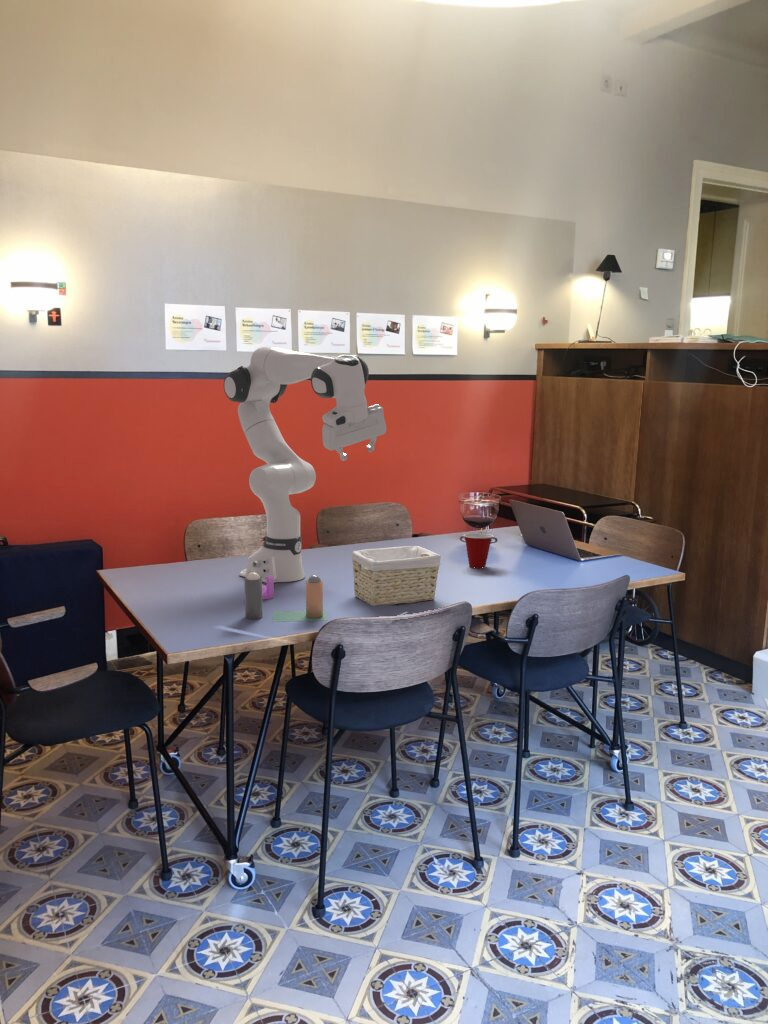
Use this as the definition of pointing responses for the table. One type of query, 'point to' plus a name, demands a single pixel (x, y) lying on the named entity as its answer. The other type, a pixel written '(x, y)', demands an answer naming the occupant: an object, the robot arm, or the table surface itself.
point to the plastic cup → (477, 548)
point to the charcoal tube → (253, 596)
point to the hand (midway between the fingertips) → (357, 455)
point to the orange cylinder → (314, 597)
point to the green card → (296, 616)
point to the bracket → (268, 588)
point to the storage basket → (395, 575)
